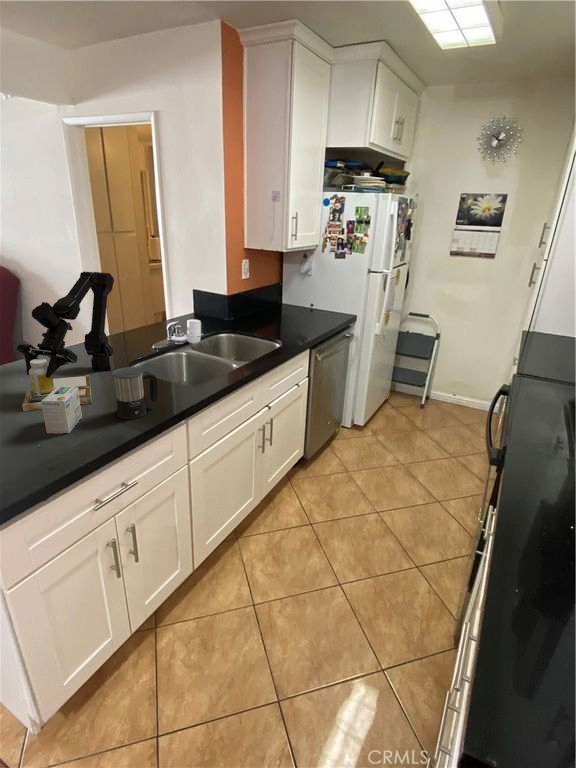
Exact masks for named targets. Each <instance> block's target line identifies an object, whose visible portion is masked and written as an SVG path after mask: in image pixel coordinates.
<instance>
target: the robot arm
mask: <svg viewBox="0 0 576 768" xmlns="http://www.w3.org/2000/svg"><path fill="white" fill-rule="evenodd" d="M114 282H115V279H114V277H113V276H112V274H111V273H109V272H102V271H93V272H92V271H82V272H80V274H79V278H78V279H77V280H76V282H75V283H74V284H73V286H72V287H71V289H70V290H69V292H68V293H67V294H66V295H65V296H63V297H61V298H59V299H58V300H57V301H56V302H55V303H53V305H51V304H50V303H49V302H45V301H42V302H41V303H40V304H39V305H38V306H36V307H34V309H32V310H31V317H32V318H33V320H35V321H36V322H38V323H39V324H40V325H41V326H42V327H43V328H45V329H46V332H42V333H41V336H42V337H43V338H42V340H41V342H40V343H37V345H36V347H37V348H36V347H35V346H33V345H32V344H30V343H29V344H28V343H23V342H22V343H19V344H18V345H17V347H16V349H15V350H16V351H17V352H19V353H20V354H21V355H23V356H24V360H25V367H26V375H27V376H29V370H30V369H31V368H32V367H31V365H30V361H31V360H34V359H39V358H38V357H39V356H44V357H45V356H47V357H48V358H49V362H48V365H47V366H48V369H47V372H46V377H47V378H49V377H50V376H51V375H52V376H53V374H54V373H55V372H57V370H58V369H59V368H60V367H63V366H64V365H69V364H77V361H78V359H79V358H78V355H77V354H76V353H75V352H73V351H72V350H71V349H69V348H65V346H66V341H64V340H65V338H66V335H67V333H68V331H73V326H72V324H71V322H67V321H68V320H69V321H73V320H74V321H75V320H76V319H77V318H78V316H79V313H80V312H81V306H80V305H81V303H82V301H83V300H84V298H85V297H86V296H87V294H88V292H89V291H90V290H91V291H92V293H93V297H92V298H93V301H92V312H91V327H90V331H89V332H88V333H85V334H84V341H83V344H84V349H85V351H86V354H87V356H92V357H91V358H90V362H91V369H92V370H93V372H107V371H108V372H109V371H111V370H112V368H111V367H112V366H111V362H110V361H111V360H110V357H112V356H113V355H114V348H113V347H112V346H111V345H110V344H109V338H108V335H107V333H106V332H105V331H106V330H105V329H106V318H107V316H106V315H107V304H108V296H109V295H110V293H111V292H112V290H113V286H114Z"/></svg>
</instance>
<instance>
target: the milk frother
mask: <svg viewBox="0 0 576 768" xmlns="http://www.w3.org/2000/svg"><path fill="white" fill-rule="evenodd" d="M112 377H113V380H114V388H115V389H114V390H115V396H116V407H117V413H116V415H117V417H119V418H120V419H124V420H134V419H139V418H141V417H143V416H145V415H146V413H147V412H148V411H147V408H146V407H147V399H146V388H145V380H147V379H149V395H150V396H149V398H150V400H151V401H152V402H153V403H156V402H158V399H159V398H158V397H159V394H158V393H159V392H158V391H159V386H158V385H159V382H158V381H159V380H158V378H157V376H156V375H155V374H154V373H153V372H151V371H147V370H146V371H144V370H143V369H142V368H140V367H134V366H132V367H131V366H128V367H122V368H121V367H120V368H117V369H114V371H113V372H112Z"/></svg>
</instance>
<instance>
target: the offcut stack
mask: <svg viewBox="0 0 576 768" xmlns="http://www.w3.org/2000/svg"><path fill="white" fill-rule="evenodd" d="M78 391H79V398H84V397H87V395H86V389H79V390H78Z"/></svg>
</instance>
